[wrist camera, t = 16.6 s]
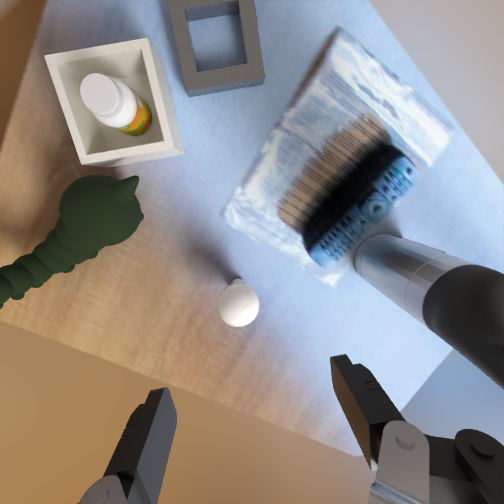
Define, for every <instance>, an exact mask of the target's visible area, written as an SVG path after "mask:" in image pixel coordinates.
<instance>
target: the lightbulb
mask: <svg viewBox="0 0 504 504" xmlns="http://www.w3.org/2000/svg"><path fill="white" fill-rule="evenodd" d="M217 310H218V313H219V316H220V317H221V319H222V320H223V321H224V322H225V323H227V324H228V325H231V326H234V327H241V326H245V325H247V324H249V323H251V322H252V321H253V320H254V319H255V317H256V316H257V314H258V311H259V299H258V296H257V294H256V292H255V291H254V290H253V289H252V288H251V287H249V286H247V285H245V282H244V281H243V280H241V279H235V280H233V281H232V282H231V285H229V286H228V287H226V288H225V289H224V290H223V291H222V292H221V293H220V295H219V297H218V301H217Z"/></svg>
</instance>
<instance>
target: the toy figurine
mask: <svg viewBox="0 0 504 504" xmlns="http://www.w3.org/2000/svg"><path fill="white" fill-rule="evenodd" d="M138 182H139V177H138V176H131V177H129V178H126V179H123V180H120V181H118V180H116V179H113V178H111V177H109V176H101V175H92V176H86V177H82V178H79V179H78V180H76V181H74V182H73V183H72V184H71V185H70V186H69V187H68V188H67V189H66V190H65V192H64V193H63V195H62V198H61V200H60V207H59V211H60V217H59V219H58V220H57V223H56V227H55V229H53V230H52V231H51V232H50V233H49V234H48V235H47V237H46V239H45V241H44V242H42V243H40V244H38V245H37V246H36V247H35V248H34V250H33V252H32V253H31V254H26V255H23V256H21V257H19V258H18V259H16V260H15V261H14V263H13V264H10V265H6V266H3V267H1V268H0V309H1V308H2V307H3V303H5V302H6V301H7V300H8V299H9V298H10V297H11V298H12V299H14V300H20V299H22V298H23V297H24V295H25V292H27V291H28V290H29V289H30V288H31V287H33V288H38V287H40V286H42V285H43V283H44V282H46V281H47V280H48V279H50V278H51V276H52V275H53V274H56V273H60V272H63V273H68V272H71V271H72V270H73V269H74V267H75V264H79V263H82V262H84V261H85V260H87V259H92V258H95V257H96V256H97V254H98V251H99V250H101V249H102V248H103V247H105V246H111V245H115V244H118V243H121V242H123V241H124V240H126V239H128V238H129V237H130V236H131V235H132V234H133V233H134V232H135V230H136V229H137V227H138V225H139V223H140V221H142V220H143V218H144V215H143V213H142V212H141V208H140V203H139V201H138V200H137V198H136V196H135V194H134V193H135V190H136V188H137V185H138Z"/></svg>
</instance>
